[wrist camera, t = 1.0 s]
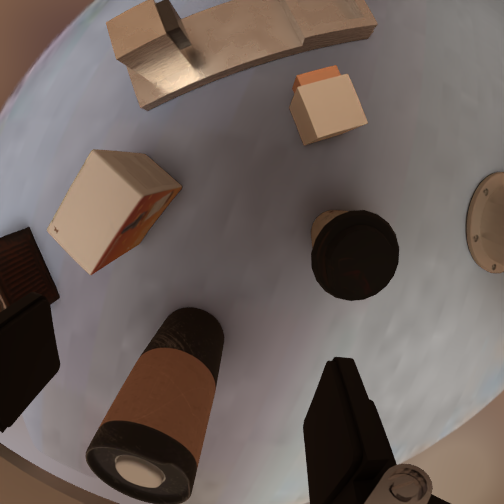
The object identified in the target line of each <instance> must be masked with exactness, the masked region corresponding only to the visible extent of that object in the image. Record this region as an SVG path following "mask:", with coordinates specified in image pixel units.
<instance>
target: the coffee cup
mask: <svg viewBox="0 0 504 504" xmlns="http://www.w3.org/2000/svg"><path fill="white" fill-rule="evenodd" d="M311 239H312V248H313V249H312V252H311V260H312V270H313V273H314V275H315V278H316V281H317V282H318V283H319V284H320V286H321V287H322V288H323V289H324V290H325V291H326V292H328V293H329V294H331V295H332V296H334V297H336V298H340V299H345V300H349V301H353V300H363V299H366V298H369V297H371V296H373V295H376V294H377V293H378V292H380V291H381V290H382V289H383V288H385V287H386V286H387V284H388V283H389V282H390V280H391V279H392V277H393V276H394V274H395V271H396V268H397V265H398V260H399V246H398V242H397V238H396V234H395V232H394V231H393V229H392V228H391V226H390V225H389V223H388V222H387V221H385V220H384V219H383V218H381V217H380V216H379V215H377V214H374V213H371V212H368V211H365V210H360V211H341V210H329V211H326V212H324V213H322V214H321V215H319V216H318V217H317V218H316V220H315V221H314V223H313V225H312V229H311Z"/></svg>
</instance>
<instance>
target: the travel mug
mask: <svg viewBox="0 0 504 504" xmlns="http://www.w3.org/2000/svg"><path fill="white" fill-rule="evenodd" d="M223 343H224V334H223V330H222V328H221V326H220V324H219V323H218V321H217V320H216V319H215V318H214V317H213V316H212V315H210V314H209V313H207V312H205V311H203V310H201V309H197V308H182V309H179V310H176V311H175V312H173V313H172V314H170V315H169V316H168V318H167V319H166V320H165V322H164V323H163V324H162V326H161V327H160V329H159V330H158V331H157V333H156V334H155V336H154V337H153V339H152V340H151V342H150V343H149V344H148V346H147V347H146V349H145V350H144V352H143V353H142V355H141V356H140V358H139V359H138V361H137V362H136V364H135V366H134V367H133V369H132V371H131V372H130V374H129V376H128V378H127V379H126V381H125V383H124V384H123V386H122V388H121V390H120V391H119V393H118V395H117V397H116V398H115V400H114V402H113V404H112V405H111V407H110V409H109V411H108V412H107V414H106V416H105V418H104V420H103V421H102V423H101V425H100V427H99V429H98V430H97V432H96V434H95V436H94V438H93V439H92V441H91V443H90V445H89V447H88V449H87V451H86V461H87V463H88V465H89V467H90V468H91V470H92V471H93V472H94V473H95V474H96V475H97V476H98V477H99V478H100V479H101V480H102V481H103V482H105V483H106V484H108V485H109V486H110V487H112V488H114V489H115V490H117V491H119V492H121V493H123V494H125V495H128V496H129V497H132V498H135V499H138V500H141V501H144V502H148V503H153V504H180V503H183V502H185V501H186V500H188V499H189V497H190V496H191V493H192V489H193V485H194V480H195V476H196V472H197V467H198V463H199V459H200V455H201V450H202V446H203V442H204V437H205V433H206V429H207V425H208V420H209V416H210V412H211V408H212V403H213V399H214V395H215V390H216V385H217V379H218V373H219V367H220V361H221V356H222V350H223Z"/></svg>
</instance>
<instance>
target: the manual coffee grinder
mask: <svg viewBox="0 0 504 504" xmlns="http://www.w3.org/2000/svg"><path fill="white" fill-rule="evenodd" d="M30 292H35V293H38V294H41V295H44V296H45V297H46V298H47V300H48V302H49V303H50V304H52V303H53V302H55V301H56V300H58V299H59V294H58V291H57V288H56V286H55V283H54V281H53V279H52V277H51V275H50V273H49V270H48V268H47V266H46V264H45V262H44V259H43V257H42V255H41V253H40V250H39V248H38V246H37V244H36V242H35V239H34V237H33V235H32V232H31V230H30V228H29V227H27V228H25V229H23V230H20V231H17V232H14V233H12V234H9V235H6V236H4V237H1V238H0V312H1V311H3V310H4V309H6V308H7V307H9V306H10V305H12V304H13V303H15V302H16V301H18V300H19V299H21V298H22V297H24V296H25V295H27V294H28V293H30Z"/></svg>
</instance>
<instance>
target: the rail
mask: <svg viewBox="0 0 504 504" xmlns="http://www.w3.org/2000/svg"><path fill="white" fill-rule="evenodd" d="M106 25H107V29H108V32H109V36H110V39H111V43H112V46H113V49H114V53H115V56H116V59H117V60H118V61H120V62H121V63H123V64H125V65H126V66H127V69H128V73H129V76H130V79H131V82H132V85H133V88H134V91H135V94H136V97H137V99H138V102H139V105H140V108H142V109H144V110H147V111H149V110H151V109H153V108H155V107H157V106H159V105H161V104H163V103H165V102H167V101H169V100H171V99H174V98H176V97H178V96H180V95H182V94H185V93H187V92H189V91H192V90H194V89H196V88H199V87H201V86H203V85H206V84H208V83H211V82H213V81H216V80H218V79H221V78H224V77H226V76H229V75H232V74H234V73H237V72H240V71H243V70H246V69H248V68H251V67H254V66H257V65H260V64H264V63H267V62H270V61H273V60H277V59H280V58H283V57H287V56H290V55H294V54H298V53H302V52H306V51H310V50H314V49H318V48H322V47H327V46H331V45H336V44H341V43H346V42H351V41H357V40H363V39H368V38H369V37H370V35H371V34H372V33H373V32H374V31H373V30H374V29H375V27H376V26H377V25H378V24H377V22H376V20H375V18H374V16H373V15H372V13H371V11H370V9H369V8H368V6H367V4H366V2H365V1H364V0H232V1H229V2H226V3H223V4H220V5H217V6H215V7H212V8H209V9H206V10H204V11H201V12H198V13H196V14H193V15H191V16H188V17H186V18H183V19H181V18H180V17H179V15H178V13H177V12H176V10H175V9H174V7H173V6H172V4H171V2H170V1H169V0H163V1H161V2H159V3H156V2H155V1H154V0H147V1H145V2H143V3H141V4H139V5H137V6H135V7H133V8H131V9H129V10H127V11H125V12H124V13H122V14H120V15H118V16H116V17H115V18H113V19H111V20H110V21H108V22H106Z"/></svg>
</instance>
